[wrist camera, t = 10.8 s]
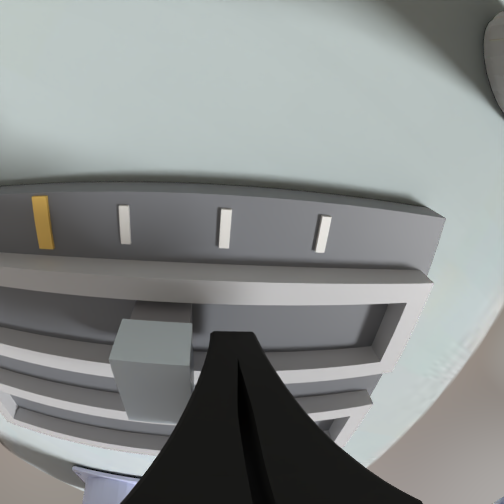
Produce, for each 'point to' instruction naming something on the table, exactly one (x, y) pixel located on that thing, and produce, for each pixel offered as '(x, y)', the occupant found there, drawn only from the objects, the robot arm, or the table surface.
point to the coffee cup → (495, 56)
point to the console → (203, 294)
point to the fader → (155, 361)
